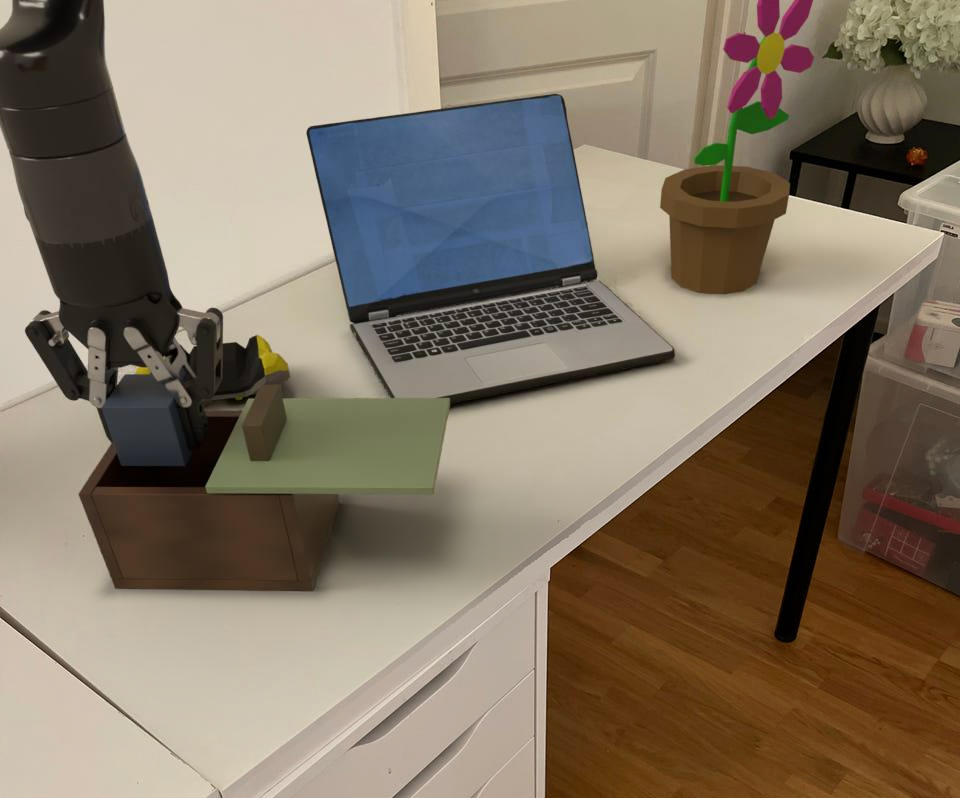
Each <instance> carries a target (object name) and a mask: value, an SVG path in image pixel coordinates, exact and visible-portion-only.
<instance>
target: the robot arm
mask: <svg viewBox="0 0 960 798" xmlns="http://www.w3.org/2000/svg"><path fill="white" fill-rule="evenodd" d="M0 130H1V133H2V136H3V139H4V142H5V145H6V148H7V150H8V152H9V156H10V161H11V165H12V168H13V172H14V177H15V183H16V186H17V191H18V193H19V197H20V200H21V203H22V206H23V211H24V215H25V217H26V220H27V221H28V223H29V225H30V228H31V232H32V234H33V237H34V239H35V243H36V245H37V249H38V251H39V254H40V256H41V260H42V263H43V266H44V268H45V270H46V274H47V277H48V279H49V282H50V285H51V288H52V290H53V293H54V295H55V296H56V298H57V299H59V308H58V311H55V312H51V311H50V310H45V309H42V310H40V311H39V312H38V313H37V314H36V315H34V317H33V318H32V319H31V320H30V321H29V323H28V324H27V326H26V327H24V328H25V329H24V334H25V335H26V338H27V339H28V340H29V342H30V344H31V345H32V347H33V348H34V350H35V351H36V353H37V355H38V356H39V358H40V359H41V361H42V362H43V364H44V365H45V367H46V369H47V370H48V372H49V374H50V375H51V377H52V378H53V379H54V381H55V383H56V385H57V386H58V388H59V390H60V391H61V392H62V394H63V396H64V397H65V398H66V399H68V400H70V401H74V402H75V401H78V400H79V399H80V400H84V401H87V402H89V403H90V404H91V405H92V407H95V409H96V410H97V413H98V416H99V419H100V422H101V425H102V428H103V431H104V435H105V436H106V439H108V441H109V442H110V444H111V443H114V442H113V439H112V436H111V434H110V431H109V428H108V425H107V422H106V419H105V416H104V413H103V410H102V406H103V404H104V403H105V402H106V400H107V399H108V397H109V396H110V394H111V393H112V392H113V390H114V389H115V387H116V386H117V385H118V381H119V380H118V377H119V369H120V368H124V367H127V366H134V367H137V368H138V367H148V369H149V370H150V371H151V373H152V374H153V376H154V377H155V379H156V380H157V381H158V382H159V383H162V384H164V385H165V387H166V388H167V390H168V391H169V393H170V394H171V395H172V397H173V398H174V400H175V401H176V403H177V404H178V405H179V406H178V407H177V410H178V414H179V417H180V421H181V424H182V428H183V431H184V435H185V439H186V442H187V446H188V448H189V449H199V448H200V446H201V444H202V442H204V440H205V438H206V436H207V434H208V432H209V424H208V421H207V416H206V412H205V411H206V409H205V405H203V401H202V399H206V400H209V399H211V398H212V397H213V395H214V394H215V392H216V390H217V388H218V386H219V384H220V383H221V381H222V368H223V343H224V314H223V313H222V311H221V310H220V309H218V308H217V307H210V308H208V309H207V310H206V312H202V311H198V310H193V309H189V308H183V306H182V303H181V302H180V300H179V299H178V298H177V297H176V295H175V294H174V293H173V290H172V289H171V286H170V278H169V273H168V270H167V266H166V263H165V259H164V255H163V251H162V247H161V244H160V240H159V237H158V233H157V228H156V225H155V221H154V217H153V214H152V213H153V212H152V211H151V206H150V202H149V199H148V195H147V191H146V187H145V183H144V181H143V176H142V174H141V170H140V167H139V164H138V162H137V159H136V156H135V155H134V152H133V150H132V147H131V145H130V142H129V139H128V136H127V133H126V130H125V127H124V122H123V119H122V115H121V111H120V107H119V105H118V100H117V96H116V93H115V90H114V85H113V80H112V78H111V73H110V70H109V67H108V63H107V58H106V17H105V0H11V14H10V16H9V18H8V20H7V21H6V22H5V24H4V25H3V26H2V27H1V28H0ZM179 328H182V329H184V331H185V332H186V334H187V337H188V340H189V341H190V344H191V345H193V346H197V377H196V375H195V374H194V372H193V371H192V369H191V368H190V366H189V365H188V363H187V357H186V354H185V352H184V351H183V349H182V348H181V346H182V345H181V344H180V343H179V342H178V339H177V338H176V335H177V333H178V330H179ZM70 335H72V336H73V337H74V338H75V339H76V340H77V341H78V342H79V343H80V344H82V346H83V347H85V349H87V350H88V351H87V352H88V353H87V358H88V359H87V368H86V365H85V364H84V362H83V361H82V359H81V358H80V356H79V354H78V352H77V351H76V349H75V348H74V346H73V344H72V342H71V341H70V339H69V337H70ZM179 344H180V345H181V346H180V345H179ZM164 356H165V359H164V358H163V357H164Z"/></svg>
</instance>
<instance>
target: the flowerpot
mask: <svg viewBox="0 0 960 798" xmlns="http://www.w3.org/2000/svg"><path fill="white" fill-rule="evenodd" d="M813 2H814V0H793V2H792V3H791V5H790V6H789V7H788V9H787V10H786V11H785V13H784V14H783V15H782V17H781V14H780V13H781V11H780V0H757V4H756V16H757V17H756V19H757V20H756V21H757V27H758V30H760V32H761V33H762V35H763V38H762V40H761V41H760V42H759V41H758V39H757V36H755V35H751V34H745V33H741V32H737V33H735V34H732V35H731V36H729V37H727V38H725V41H724V45H723V48H722V50H723V51H724V54H726V55H727V57H728V58H729V60H731V61H736V62H740V63H746V64H749V63H750V64H749V65H748V67H747V70H745V71H744V72H743V73H742V74H741V76H740V77H739V79H737V81H736V83H735V84H734V86H733V87H732V88H731V91H730V95H729V99H728V102H727V105H726V106H727V107H726V108H727V109H728V111H729V112H730V113H731V117H730V122H729V126H728V129H727V130H728V131H727V137H726V138H727V139H726V143H724V142H723V143H722V142H714V143H712V144H708V145H706V146H704V147H702V149H701V150H700V151H699V152H697V154H696V155H695V156H694V159H693V162H694V163H693V164H695V165H699V166H700V167H691V168H684V169H683V170H680V171H678V172H676V173H673V174H671V175H669V176H667V177H665V178H664V181H663V184H662V185H661V186H662V187H661V190H660V191H661V193H660V204H659V208H660V209H661V210H662V211H663V212H664V213H665V214H667V215H668V216H669V219H668V220H669V247H670V248H669V249H670V251H669V252H670V276H671V277H670V278H671V279H672V281H674V282H675V283H676V284H677V285H678V286H679V287H681V288H683V289H687V290H689V291H693V292H696V293H701V294H716V295H724V294H732V293H737V292H743V291H746V290H747V289H749V288H751V287H753V286H754V285H756V284H757V282H758V279H759V275H760V272H761V269H762V266H763V262H764V259H765V255H766V251H767V248H768V244H769V242H770V237H771V234H772V231H773V227H774V224H775V220H776V219H779V218H780V217H783V216H784V215H786V214H787V210H788V203H789V198H790V189H791V188H790V187H791V182H789V181H788V180H787V179H785V178H783V177H781V176H780V175H778V174H776V173H775V172H772V171H768V170H764V169H760V168H755V167H750V166H743V165H741V166H740V165H733V164H734V156H735V150H736V149H735V148H736V141H737V134H738V133H737V132H738V131H741V132H744V133H747V134H750V135H755V134H759V133H763V132H768V131H769V130H771V129H773V128H775V127H777V126H779V125H781V124H782V123H785V122H786V121H788V120H789V117H790V114H789V113H787V112H785V111H784V110H783V109H782V108H780V107H781V102H782V99H783V81H782V78H781V77H780V75H779V73H778V71H777V68H778V67H779V65H781V67H782V69H783V70H784V71H787V72H792V73H798V74H801V73H803V72H805V71H806V70H809V69H810V68H811V67H812V65H813V62H814V59H815V56H814V54H813V53H812V51H811V50H810V48H809V47H806V46H802V45H797V44H794V43H793V44H790V45H788V46H787V47H785V41H786V40H788V39H790V38H792V37H795V36H796V35H797V34H798V33H799V31H800V30H801V28H802V27H803V25H804V24H805V23H806V22H807V20H808V18H809V17H810V13H811V9H812V6H813ZM780 18H781V22H780V26H779V30H778V32H775V30H776V28H777V25H778V22H779V20H780ZM762 74H764V75H765V76H764V78H763V81H762V84H761V87H760V101H758V100H757V101H755V102H753V103H751V104H749V105H747V104H748V103H749V102H750V101H751V99H752V98H753V96H754V95H755V93H756V92H757V91H758V88H759V86H760V81H761V77H762ZM723 161H724V164H723V165H718V164H719V163H721V162H723Z"/></svg>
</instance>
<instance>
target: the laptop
mask: <svg viewBox="0 0 960 798" xmlns="http://www.w3.org/2000/svg"><path fill="white" fill-rule="evenodd" d="M567 112H568V111H567V107H566V101H565V99H564V97H563V95H561V94H559V93H551V94H543V95H536V96H528V97H521V98H512V99H505V100H498V101H491V102H490V101H489V102H484V103H477V104H468V105H461V106H454V107H453V106H452V107H446V108H438V109H430V110H429V109H428V110H423V111H416V112H408V113H400V114H391V115H385V116H377V117H370V118H369V117H368V118H361V119H353V120H347V121H346V120H345V121H340V122H339V121H338V122H332V123H324V124H318V125H317V124H316V125H310V126H309V127H307V129H306V138H307V142H308V148H309V151H310V156H311V160H312V164H313V168H314V174H315V179H316V182H317V183H316V184H317V186H318V192H319V194H320V200H321V205H322V209H323V212H324V216H325V220H326V225H327V229H328V234H329V239H330V242H331V243H330V244H331V246H332V251H333V255H334V260H335V264H336V268H337V272H338V276H339V281H340V284H341V290H342V294H343V299H344V301H345V307H346V311H347V315H348V319H349V322H351V323H350V324H349V327H350V331H351V333H352V334H353V336H354V337H355V339H356V341H357V343H358V344H359V346H360V348H361V350H362V351H363V352H362V353H364V355H365V356H366V358H367V360H368V361H369V363H370V365H371V367H372V368H373V370H374V372H375V374H376V376H377V377H378V379H379V380H380V382H381V384H382V386H383V387H384V388H385V390H386V392H387V394H388V396H389V398H450V405H451V404H452V405H453V404H456V403H462V402H467V401H472V400H476V399H481V398H486V397H493V396H496V395H501V394H507V393H511V392H517V391H521V390H526V389H531V388H536V387H540V386H546V385H550V384H555V383H560V382H565V381H570V380H574V379H581V378H586V377H592V376H595V375H603V374H606V373H611V372H617V371H621V370H626V369H631V368H636V367H641V366H646V365H651V364H655V363H659V362H665V361H669V360H673V359H674V358H676V349H675V348H674V346H672V345H671V344H670V343H669V342H668V341H667V340H666V339H665V338H663V336H661V334H659V333H658V332H657V331H656V330H655V329H654V328H652V327H651V326H650V324H648V322H646V321H645V320H644V319H643V318H641V316H639V315H638V314H637V313H636V312H635V311H634V310H633V309H632V308H631V307H630V306H628V305H627V304H626V303H625V302H624V301H623V300H622V299H621V298H620V297H619V296H617V295H616V294H615V293H614V292H613V291H612V290H611V289H610V288H609V287H607V285H605V284H604V283H603V282H602V281H601V280H600V279H599V280H598V274H599V273H598V270H597V269H596V264H595V257H594V252H593V247H592V241H591V237H590V231H589V226H588V225H589V224H588V219H587V214H586V209H585V204H584V199H583V194H582V193H583V192H582V188H581V184H580V177H579V172H578V167H577V161H576V157H575V151H574V146H573V140H572V135H571V132H570V126H569V120H568V113H567Z"/></svg>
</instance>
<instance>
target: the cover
mask: <svg viewBox="0 0 960 798" xmlns="http://www.w3.org/2000/svg"><path fill="white" fill-rule="evenodd" d="M450 407H451V404H450V398H391V397H373V398H372V397H366V398H365V397H354V398H353V397H350V398H349V397H343V398H342V397H336V398H335V397H333V398H332V397H330V398H329V397H327V398H326V397H324V398H323V397H321V398H319V397H318V398H317V397H316V398H315V397H314V398H312V397H309V398H306V397H305V398H304V397H303V398H302V397H301V398H299V397H298V398H296V397H295V398H293V397H292V398H286V397H285V398H283V393H282V387H281V386H280V385H261V386H260V389H259V391H258V393H257V394H255V397H254V398H248V399H247V400H246V403H245V405H244V407H243V409H242V410H243V411H242V413H241V415H240V417H239V419H238V421H237V423H236V425H235V427H234V429H233V431H232V433H231V435H230V437H229V439H228V441H227V443H226V445H225V448H224V450H223V452H222V454H221V456H220V458H219V460H218V462H217V464H216V466H215V468H214V470H213V472H212V474H211V476H210V478H209V480H208V482H207V484H206V486H205V487H206V491H207V493H259V494H338V495H434V494H435V489H436V484H437V479H438V473H439V468H440V463H441V462H440V461H441V456H442V452H443V446H444V440H445V435H446V430H447V429H446V428H447V423H448V419H449V413H450Z"/></svg>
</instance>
